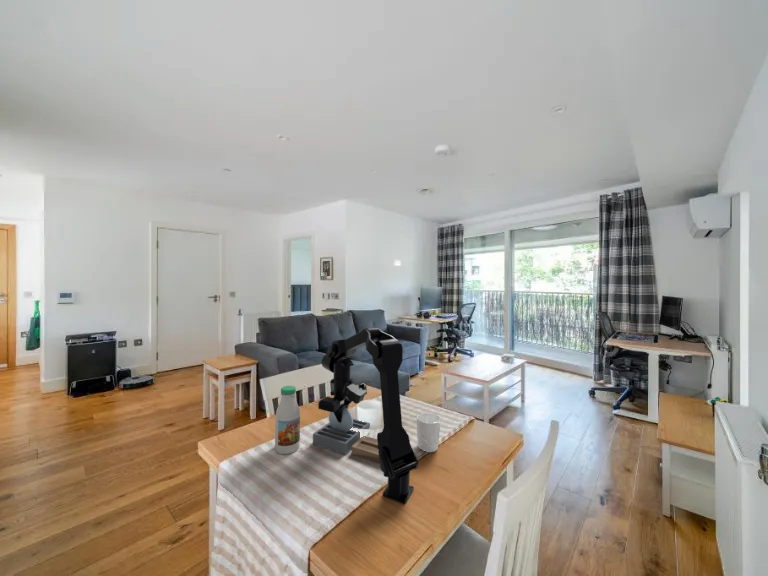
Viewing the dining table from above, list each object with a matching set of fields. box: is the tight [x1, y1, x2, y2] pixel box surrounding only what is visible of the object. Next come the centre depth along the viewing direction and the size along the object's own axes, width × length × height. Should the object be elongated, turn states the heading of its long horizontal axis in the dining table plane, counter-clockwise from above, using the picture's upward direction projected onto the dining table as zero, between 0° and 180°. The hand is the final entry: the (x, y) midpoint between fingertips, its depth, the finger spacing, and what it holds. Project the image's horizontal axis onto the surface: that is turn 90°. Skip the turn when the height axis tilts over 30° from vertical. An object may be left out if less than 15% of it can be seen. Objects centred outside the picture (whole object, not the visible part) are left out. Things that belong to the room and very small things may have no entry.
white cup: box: [416, 412, 442, 453], centre depth 106 cm, size 8×8×10 cm
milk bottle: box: [274, 385, 301, 455], centre depth 102 cm, size 8×8×20 cm
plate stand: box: [350, 435, 380, 464], centre depth 101 cm, size 8×12×2 cm, turn 64°
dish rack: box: [312, 418, 371, 455], centre depth 110 cm, size 16×13×4 cm
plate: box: [328, 407, 354, 433], centre depth 108 cm, size 1×9×9 cm, turn 64°
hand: (340, 421), depth 108 cm, fingers closed on plate, 1 cm apart
